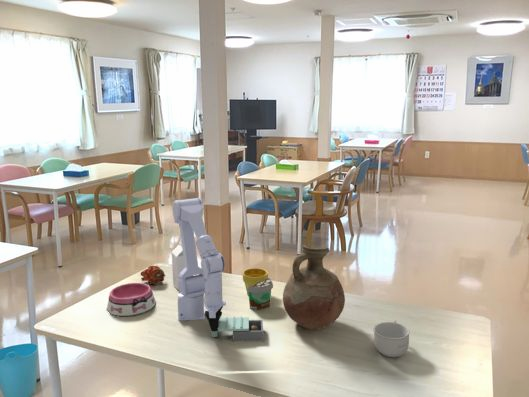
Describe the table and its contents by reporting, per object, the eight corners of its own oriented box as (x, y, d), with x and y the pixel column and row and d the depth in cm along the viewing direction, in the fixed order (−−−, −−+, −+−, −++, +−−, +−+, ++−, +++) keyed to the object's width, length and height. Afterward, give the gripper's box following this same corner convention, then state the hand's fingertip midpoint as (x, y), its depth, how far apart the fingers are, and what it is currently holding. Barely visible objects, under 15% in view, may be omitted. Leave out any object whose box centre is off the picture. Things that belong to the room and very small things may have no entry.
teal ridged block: (210, 340, 148) (210, 325, 147) (212, 328, 156) (212, 314, 155) (248, 340, 149) (248, 324, 148) (248, 328, 156) (248, 313, 155)
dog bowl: (117, 322, 163) (115, 304, 162) (99, 304, 178) (98, 288, 176) (163, 308, 175) (163, 291, 173) (144, 292, 189) (143, 277, 187)
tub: (233, 343, 149) (232, 332, 148) (233, 331, 157) (233, 320, 156) (263, 342, 149) (263, 331, 148) (262, 330, 157) (262, 319, 156)
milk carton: (177, 290, 190) (175, 247, 186) (173, 284, 196) (171, 243, 192) (194, 287, 193) (192, 245, 189) (188, 281, 200) (187, 240, 196)
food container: (260, 315, 168) (260, 290, 166) (247, 311, 172) (247, 286, 169) (279, 303, 177) (279, 280, 175) (266, 299, 181) (266, 276, 179)
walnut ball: (249, 336, 152) (249, 328, 151) (249, 332, 155) (249, 323, 154) (258, 336, 152) (258, 328, 151) (258, 331, 155) (258, 323, 154)
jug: (355, 324, 161) (359, 244, 155) (319, 348, 145) (321, 260, 139) (307, 306, 175) (308, 232, 169) (269, 326, 160) (270, 245, 154)
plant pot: (267, 300, 181) (267, 277, 179) (242, 300, 181) (241, 277, 179) (268, 289, 191) (268, 267, 189) (243, 289, 191) (243, 267, 189)
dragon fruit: (165, 289, 195) (142, 288, 200) (172, 272, 201) (150, 272, 206) (155, 278, 190) (132, 278, 195) (162, 261, 195) (140, 262, 200)
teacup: (402, 365, 136) (404, 341, 134) (367, 355, 142) (369, 331, 140) (414, 344, 148) (416, 322, 146) (381, 335, 153) (383, 314, 151)
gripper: (224, 299, 142) (225, 338, 145) (226, 281, 156) (227, 317, 159) (202, 299, 142) (203, 339, 144) (206, 281, 156) (207, 318, 159)
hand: (214, 328), depth 152 cm, fingers closed on teal ridged block, 3 cm apart
